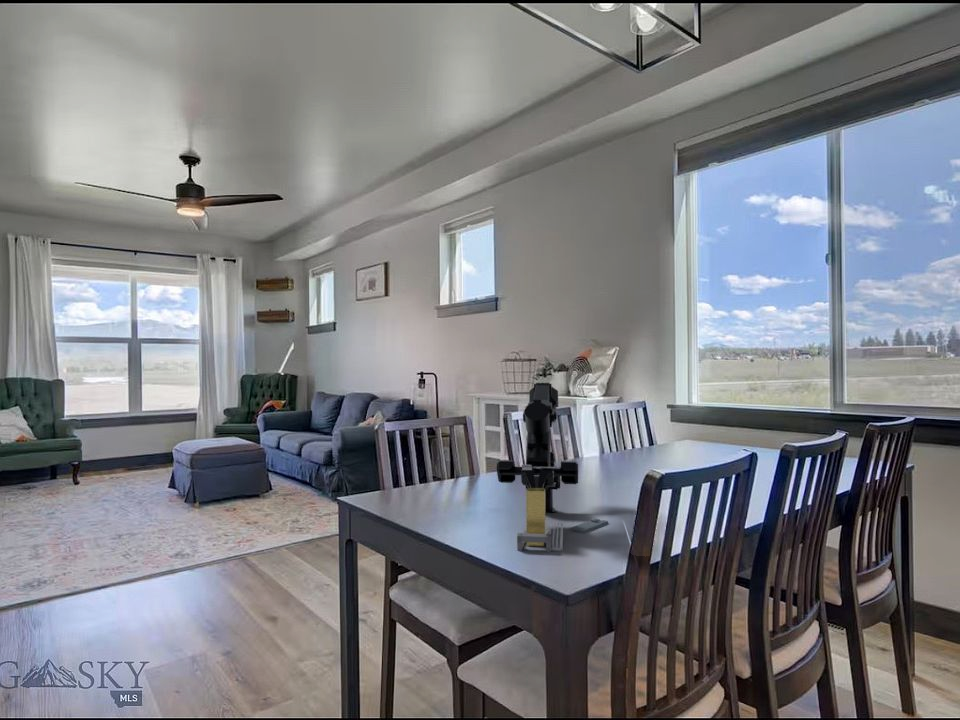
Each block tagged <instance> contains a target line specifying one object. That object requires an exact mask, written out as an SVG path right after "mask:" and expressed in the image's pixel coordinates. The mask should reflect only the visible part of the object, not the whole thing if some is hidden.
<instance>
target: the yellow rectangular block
mask: <svg viewBox="0 0 960 720" xmlns="http://www.w3.org/2000/svg"><path fill="white" fill-rule="evenodd" d="M525 496H526V497H525V499H526V501H525V502H526V505H525V506H526V507H525V508H526V510H525V511H526V513H525V514H526V517H525V518H526V531H527V533H532V534H547V533H546V528H547V527H546V526H547V525H546V519H547V518H546V513H545V488H527V489H525ZM526 546H527V547H529V546H532V547H544V546H545V543H540V542H526Z"/></svg>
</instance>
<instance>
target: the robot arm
mask: <svg viewBox="0 0 960 720" xmlns="http://www.w3.org/2000/svg"><path fill="white" fill-rule="evenodd" d="M552 385H553V384H552V383H550V382H536V383H534V384H533V387H532V388H531V389H530V390H529V392H528V393H529V395H528V397H529V398H528V400H529V401H528V403H527V406H526V407H525V409H524V410H523V413H522V421H523V423H524V424H525V428H526V431H527V435H526V436H527V437H526V452H525V453H526V454H525V464H521V466H516V465H515V460H512V459H511V460H510V459H509V460H508V459H507V460H500V459H499V461H497V463H496V475H497V480H498V482H499V483H503V484H512V483H513V482H515V480H516V477H517V476H519V477H520V480H521V483H522V485H523V486H525V490H527V488H545V514H557V509H555V507H554V497H553V495H554V494H553V493H554V492H553V491H554V490H556V491H558V489H561V482H562V484H564V485H577V484H579V464H578V462H577V461H575V460H574V461H572V460H571V461H568V460H567V461H565V460H564V461H562V460H561V461H560V466H557V465H556V462H555V457H554V453H553V452H552V451H551V438H552V437H551V435H552V434H551V428H552V427H553V424H555V423H556V420H557V419H558V413H557V408H559V390H558V389H556V388H554V387H553V386H552Z"/></svg>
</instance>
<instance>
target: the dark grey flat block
mask: <svg viewBox="0 0 960 720" xmlns="http://www.w3.org/2000/svg"><path fill="white" fill-rule="evenodd" d="M607 525H609V521H608V520H600V519H599V518H592V519H590V520H588V521H584V522H582V523H579V524H576V525H574V526H571V527H570V531H571V532H576V533H580V534H586V533H589V532H591V531H594V530H597V529H599V528H602V527H604V526H607Z"/></svg>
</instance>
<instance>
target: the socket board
mask: <svg viewBox="0 0 960 720" xmlns="http://www.w3.org/2000/svg"><path fill="white" fill-rule="evenodd" d="M549 526H550V527H549V530H548V531H547V533H546V534H532V533H527V530H523V533H522V532H518V533H517V535H516V538H517V539H516V540H517V541H516V543H517V544H516V546H517V547H516V548H517V550H516V551H519V552H520V551H521V552H522V551H523V548H524V546H525V543H527V542H540V543H544V544H545V545H546V546H545V548H546V549H545V550H546V551H545V552H546V553H551V552H552V551H559V552H561V551H562V552H563V546H564V545H563V544H564V529H563V523H562V522H561V524H560V523H559V522H557V525H556V522H554V523H552V522H550V525H549Z"/></svg>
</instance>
